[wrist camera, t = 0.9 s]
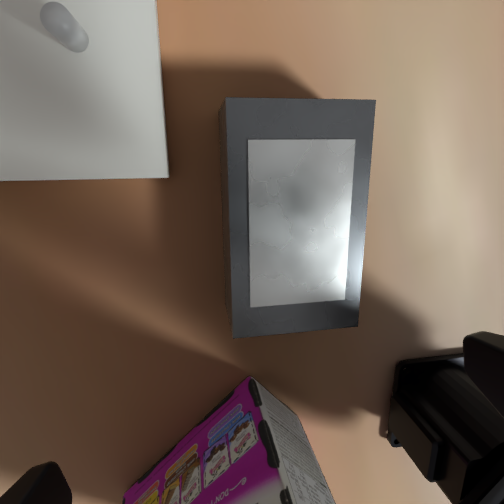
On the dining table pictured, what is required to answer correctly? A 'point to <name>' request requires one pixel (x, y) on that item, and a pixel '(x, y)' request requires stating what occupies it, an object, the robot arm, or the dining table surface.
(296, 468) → the candy bar box
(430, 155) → the dining table surface
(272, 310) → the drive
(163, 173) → the tray
